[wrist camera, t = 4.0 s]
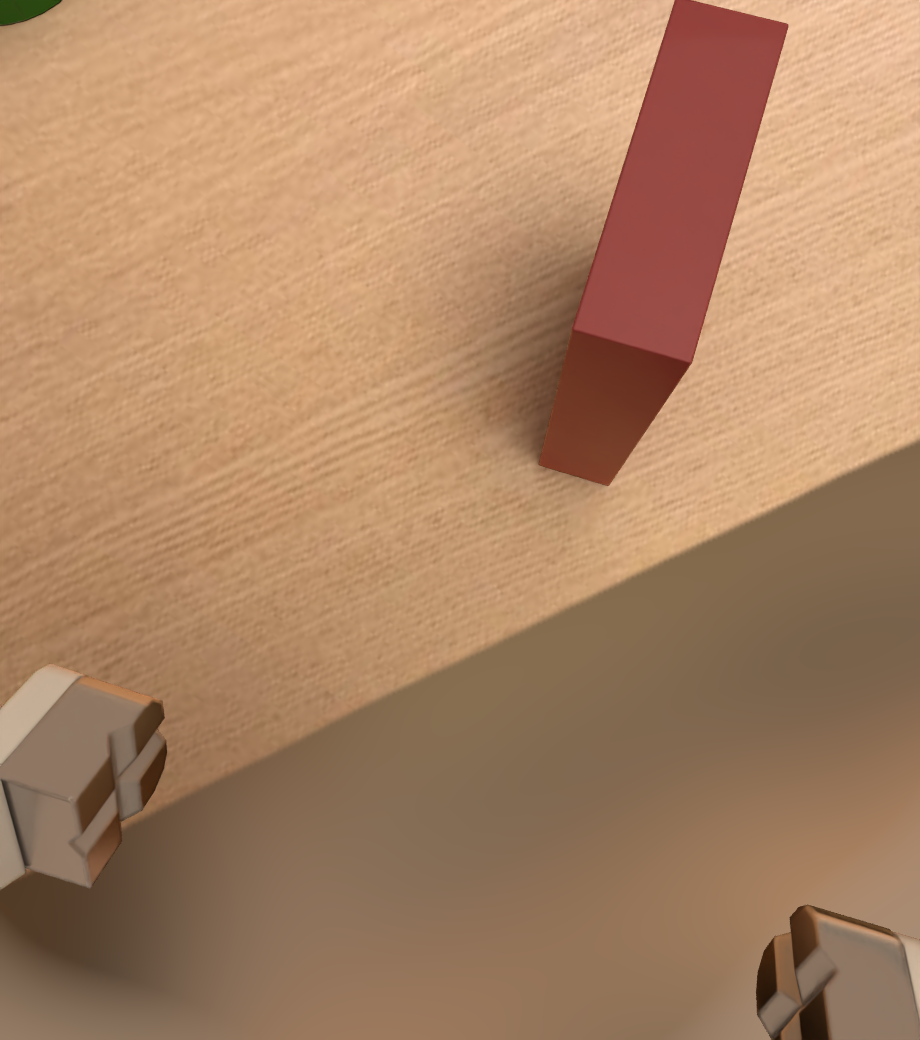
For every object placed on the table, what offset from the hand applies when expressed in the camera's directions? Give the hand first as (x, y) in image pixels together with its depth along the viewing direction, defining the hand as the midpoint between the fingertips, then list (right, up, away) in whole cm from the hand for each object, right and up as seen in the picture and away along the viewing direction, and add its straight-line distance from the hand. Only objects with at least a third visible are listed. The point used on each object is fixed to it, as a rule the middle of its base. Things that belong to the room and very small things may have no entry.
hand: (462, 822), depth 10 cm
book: (+6, +10, +22) cm, 24 cm away
